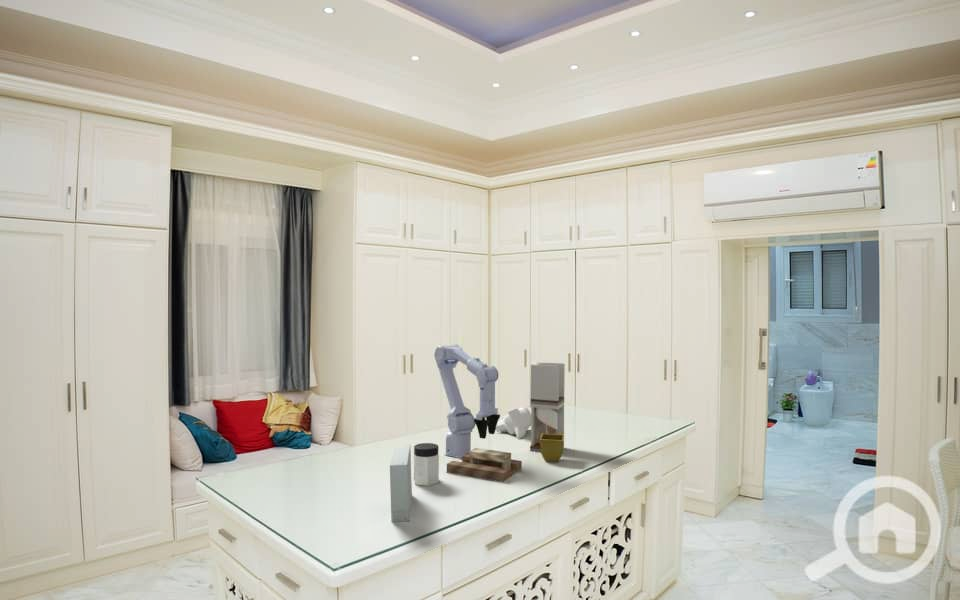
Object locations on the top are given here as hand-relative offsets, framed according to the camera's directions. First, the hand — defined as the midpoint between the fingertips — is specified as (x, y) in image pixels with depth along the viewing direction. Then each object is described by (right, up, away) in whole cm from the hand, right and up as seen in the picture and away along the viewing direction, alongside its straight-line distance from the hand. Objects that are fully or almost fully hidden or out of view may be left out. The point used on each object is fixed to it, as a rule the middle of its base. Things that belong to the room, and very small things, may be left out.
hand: (487, 435), depth 206 cm
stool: (+1, -9, -9) cm, 13 cm away
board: (-1, -10, -8) cm, 13 cm away
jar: (-21, -10, -21) cm, 31 cm away
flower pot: (+25, -11, +5) cm, 28 cm away
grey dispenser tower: (+25, -11, +21) cm, 34 cm away
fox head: (+12, -11, +48) cm, 51 cm away
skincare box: (-26, -10, -44) cm, 52 cm away
